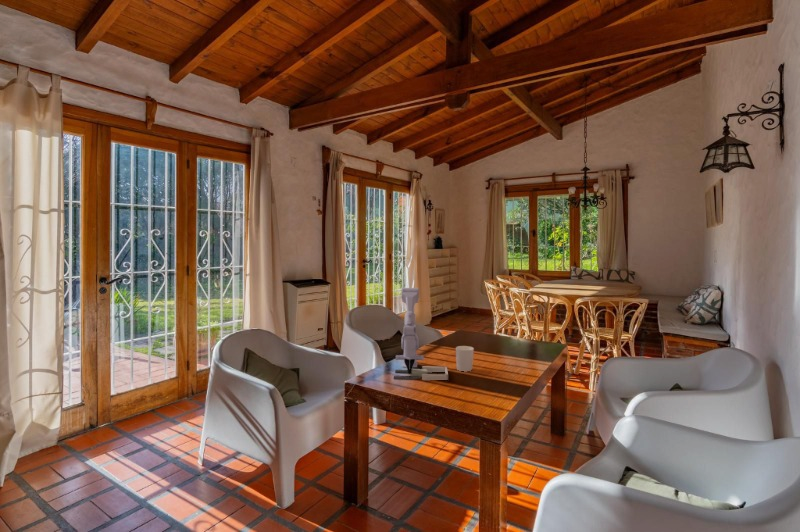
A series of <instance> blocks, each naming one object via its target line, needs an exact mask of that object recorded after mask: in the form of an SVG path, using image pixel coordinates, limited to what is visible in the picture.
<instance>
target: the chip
mask: <svg viewBox="0 0 800 532" xmlns="http://www.w3.org/2000/svg"><path fill="white" fill-rule="evenodd" d="M418 369H419V378H422V374H428V372H427V369H422V368H421V369H420V368H418Z"/></svg>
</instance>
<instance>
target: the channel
mask: <svg viewBox="0 0 800 532" xmlns="http://www.w3.org/2000/svg"><path fill="white" fill-rule="evenodd" d="M394 373H395V374H408V369H395V370H394ZM411 374H412V370H411ZM393 379H394V380H412V379H419V380H420V377H419V376H412V375H393Z"/></svg>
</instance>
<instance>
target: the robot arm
mask: <svg viewBox="0 0 800 532" xmlns="http://www.w3.org/2000/svg"><path fill="white" fill-rule="evenodd" d="M400 295H401V301H402V302H403V303H404V304H405V305H406V312H405V314H404V323H403V324H404V325H403V328H402V329H403V334H402V335H401V339H400V340H401V347H400V349H402V350H403V354H401V355H400V354H399V355H398V354H397V355H395V360H396V361H399V360H401V361H402V360H403V361H402V362H403V363H402V368H406V370H408V373H407V374H408V375H412V373H411V370H412V369H413V368H418V361H424V360H425V359H424V355H418V354H417V350H419V349H420V341H419V340H420V339H419V335H418V334H417V325H416V313H415V305H416V304H417V303H419V298H420V288H419V287H402V288H401V294H400Z"/></svg>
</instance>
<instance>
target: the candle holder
mask: <svg viewBox="0 0 800 532" xmlns="http://www.w3.org/2000/svg"><path fill="white" fill-rule="evenodd" d="M474 351H475V348H474V347H473V346H469V345H468V346H467V345H458V346H455V358H456V359H455V360H456V370H457V371H458V370H459V371H458V372H461V371H464V372H463V373H468V372H467V371H470V372H472V371H473V365H474V364H473V362H474ZM471 370H472V371H471Z"/></svg>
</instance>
